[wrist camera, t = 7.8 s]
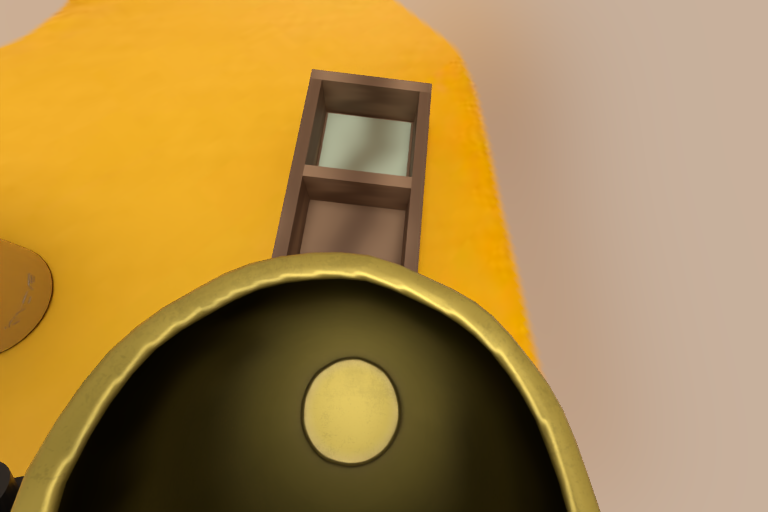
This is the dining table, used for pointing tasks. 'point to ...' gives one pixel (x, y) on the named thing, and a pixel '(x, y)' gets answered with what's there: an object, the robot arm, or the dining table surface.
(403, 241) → the wooden compartment tray
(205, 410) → the vase
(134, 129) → the dining table surface
